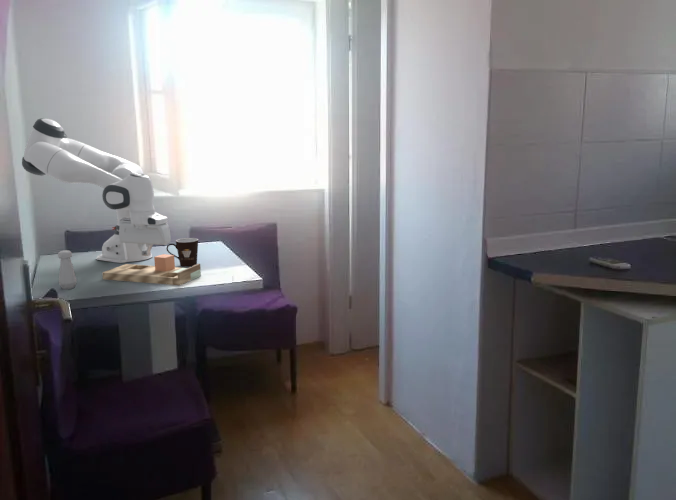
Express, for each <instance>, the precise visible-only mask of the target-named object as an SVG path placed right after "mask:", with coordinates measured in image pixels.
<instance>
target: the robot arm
mask: <svg viewBox="0 0 676 500" xmlns="http://www.w3.org/2000/svg"><path fill="white" fill-rule="evenodd" d="M32 127H33V128H32V130H31V131H30V133H29V135H28V138H27V141H26V146H25V149H24V154H23V156H22V159H21V166H22V168H23V169H24V170H25V171H26V172H27V173H30V174H32V175H35V176H41V177H42V176H45V175H47V176H49V177H50V178H53V180H54V179H55V180H56V181H59V182H62V183H65V184H66V183H67V184H92V185H96V186H98V187H100V188H103V190H102V194H101V195H102V196H101V197H102V201H103V203H104V205H105V206H106V207H107V208H108V209H111V210H116V211H115V212H116V221H117V222H116V225H115V226H112V227H111V230H112V231H114V234H113V235H112V236H110V237H109V238H108V239H107V240H106V241H104V242H103V244H102V247H101V254H99V255H97V256H96V260H97V261H98V260H99V261H105V262H113V263H118V264H123V263H129V262H140V261H145V260H149V259H151V258H153V254H152V251H151V250H152V248H153V246H154V245H158V246H160V245H161V246H167V245H169V244H171V240H172V239H171V230H170V226H169V224H168V222H169V218H168V217H167V216H165V215H162V214H160V213H158V212H157V211H156V208H155V205H154V200H155V194H154V193H155V192H154V186H153V181H152V179H151V177H150V176H149V175H147V174H145V173H144V170H143V168H141V166H140V165H139V164H137V163H135V162H132V161H130V160H127V159H124V158H122V157H119V156H117V155H113V154H110V153H108V152H106V151H102V150H100V149H98V148H96V147H93V146H92V145H89V144H86V143H84V142H81V141H79V140H76V139H74V138H73V139H72V138H70V137H69V138H68V136H67V134H66V133H65V130H64V128H63V126H62V125H61V124H60V123H58V122H57V121H55V120H53V119H51V118H44V117H43V118H39V119H37V120H35V122H34V123H33V126H32Z"/></svg>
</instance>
